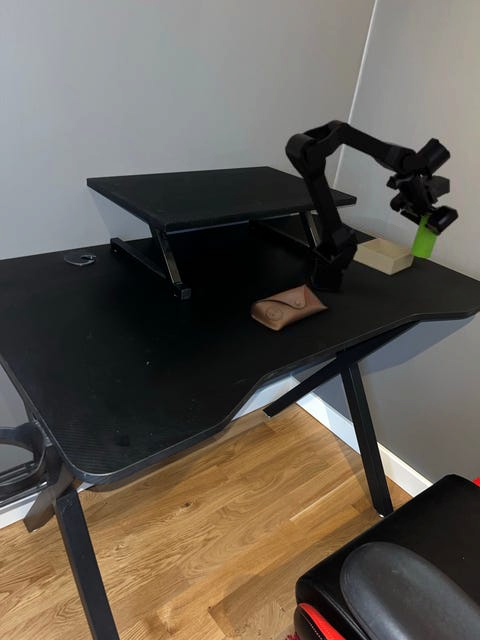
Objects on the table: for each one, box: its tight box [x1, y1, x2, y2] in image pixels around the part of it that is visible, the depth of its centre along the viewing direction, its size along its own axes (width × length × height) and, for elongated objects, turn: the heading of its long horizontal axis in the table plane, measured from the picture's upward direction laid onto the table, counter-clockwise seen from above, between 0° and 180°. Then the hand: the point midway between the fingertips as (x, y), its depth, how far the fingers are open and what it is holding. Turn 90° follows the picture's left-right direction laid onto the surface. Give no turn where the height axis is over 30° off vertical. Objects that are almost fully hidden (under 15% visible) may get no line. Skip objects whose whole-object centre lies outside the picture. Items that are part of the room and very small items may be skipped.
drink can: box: [410, 215, 438, 259], centre depth 120 cm, size 5×5×12 cm
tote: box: [353, 237, 415, 276], centre depth 133 cm, size 12×12×4 cm
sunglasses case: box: [250, 283, 328, 331], centre depth 101 cm, size 18×7×7 cm
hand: (432, 230), depth 121 cm, fingers closed on drink can, 5 cm apart
